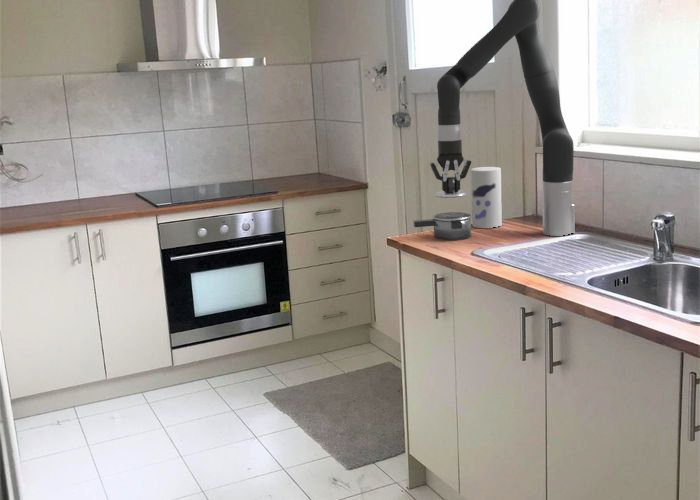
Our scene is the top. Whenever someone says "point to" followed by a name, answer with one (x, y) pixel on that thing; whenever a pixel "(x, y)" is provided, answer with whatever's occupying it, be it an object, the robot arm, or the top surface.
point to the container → (486, 197)
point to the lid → (451, 190)
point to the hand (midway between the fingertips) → (451, 191)
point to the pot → (448, 225)
